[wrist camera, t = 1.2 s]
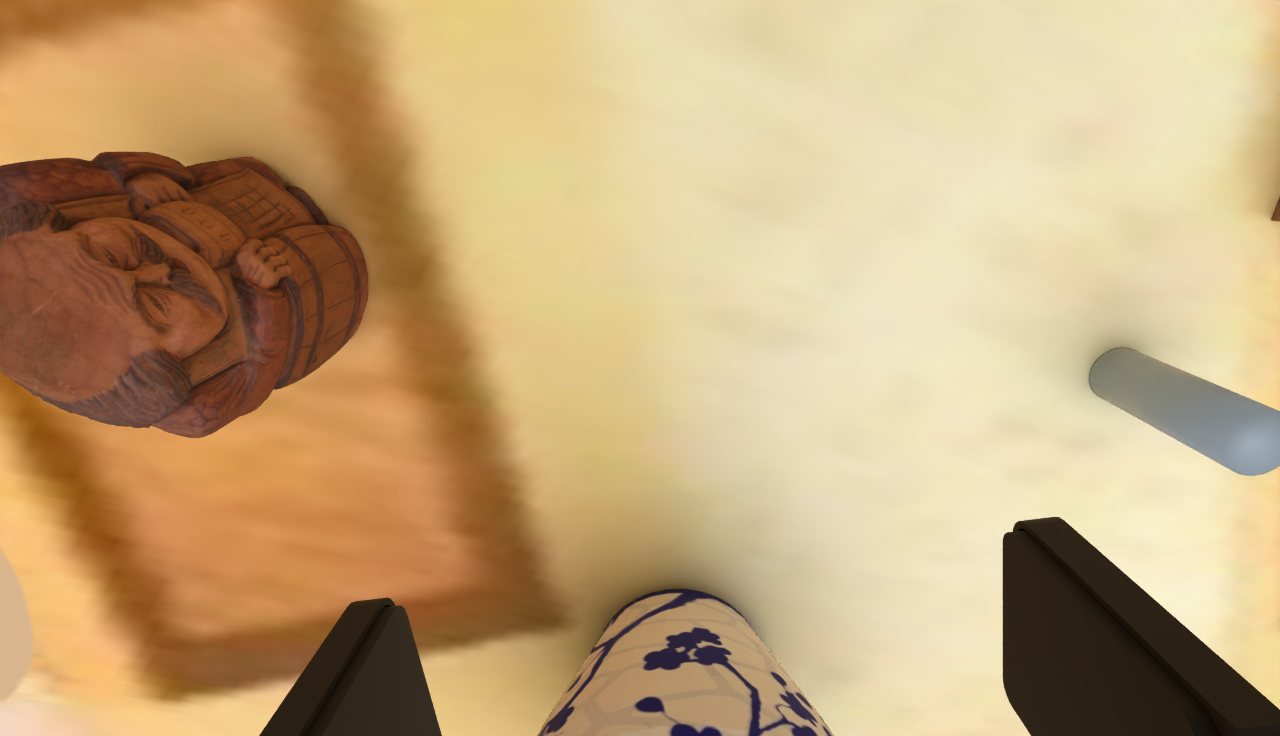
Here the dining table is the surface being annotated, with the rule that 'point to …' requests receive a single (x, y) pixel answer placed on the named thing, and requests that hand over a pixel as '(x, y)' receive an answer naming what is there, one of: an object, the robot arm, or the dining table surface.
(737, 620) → the vase
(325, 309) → the wooden figurine
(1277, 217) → the box with hole
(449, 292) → the dining table surface
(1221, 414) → the peg
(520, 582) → the dining table surface
